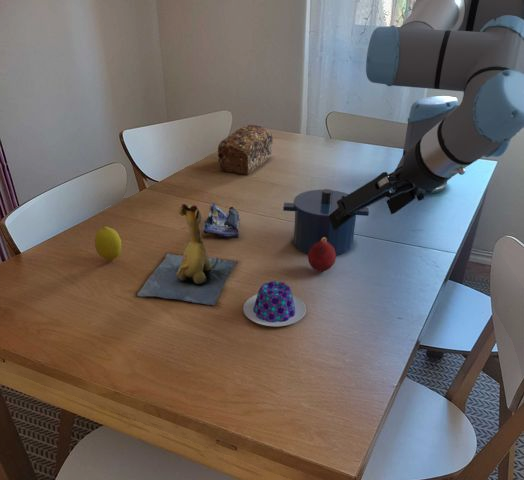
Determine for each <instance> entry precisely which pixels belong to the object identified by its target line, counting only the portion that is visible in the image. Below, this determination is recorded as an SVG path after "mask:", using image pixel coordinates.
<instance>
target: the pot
mask: <svg viewBox="0 0 524 480" xmlns="http://www.w3.org/2000/svg"><path fill="white" fill-rule="evenodd" d="M282 208H283V209H282V210H283V211H284V212H294V227H293V228H294V229H293V230H294V231H293V233H294V234H293V244H294V246H295V248H297V249H298V250H299V251H300V252H303V253H305V254H307V255H308V254H309V251H310V249H311V247H312V246H313V245H314V244H315V243H317V242H319V241H320V240H321V239H322V238H323V237H325V238H327V242H328V243H330V244H331V245H332V246H333V248H334V249H335V253H336V256H340V255H343V254H345V253H348V252H349V251H350V250H351V249H352V248H353V245H354V236H355V234H354V233H355V226H356V219H357V218H356V217H357V216H366V217H368V216H369V213H370V210H369V208H370V207H369V206H368V207H366V208H363V209H361V210H359V211H357V212H355V213H356V215H355V216H353V217H352V218H351V219H349V220H348V221H347V222H346V223H344V224H343V225H342V226H340V227H339V228H338V229H336V230H334V229H333V227H332V224H331V222H330V219H329V218H327V217H317V216H312V215H308V214H305V213H303V212H301V211H299V210H298V209H297V208H296V207H295V206H294V202H284V203H283V207H282Z"/></svg>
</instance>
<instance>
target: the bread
mask: <svg viewBox="0 0 524 480" xmlns="http://www.w3.org/2000/svg"><path fill="white" fill-rule="evenodd" d="M273 139H274V138H273V135H272V133H271V132H270V131H268V129H266V128H265V127H262V126H260V125H258V124H246V125H244V126H242V127H240V128H239V129H237V130H236V131H234V132H233V133H231V134H230V135H228V136H226V137H225V138H224V139H223V140H221V141H220V143H219V144H218V147H217V157H218V163H219V169H220V170H221V171H225V172H227V173H231V172H234V173H236V174H239V175H247V176H248V175H250V174H251V173H252V172H254V171H255V170H257V169H258V168H259V167H261V166H262V165H263V164H264V163H266V162H267V161H268V160H269V159H270V158H271V156H272V152H273V145H274V144H273V143H274V141H273Z"/></svg>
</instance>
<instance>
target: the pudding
mask: <svg viewBox="0 0 524 480" xmlns="http://www.w3.org/2000/svg"><path fill="white" fill-rule="evenodd" d="M242 309H243V310H242V311H243V313H244V315H245V316H246V318H248V319H249V320H250V321H252V322H254V323H256V324H258V325H261V326H267V327H284V326H289V325H294V324H295V323H297V322H299V321H301V320H302V319H303V318H304V317H305V315H306V313H307V307H306V304H305V303H304V302H303V300H302V299H300V298H299V297H297V296H296V295H293V293H292V288H291V287H290V286H289V285H288V284H286V283H285V282H282V281H276V280H271V281H269V282H265V283H263V284H262V285H261V286H260V288H259V289H258V292H257V294H254V295H253V296H251V297H250V298H248V299H247V300H246V301H245V302H244V303H243V307H242Z"/></svg>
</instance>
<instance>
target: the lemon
mask: <svg viewBox="0 0 524 480" xmlns="http://www.w3.org/2000/svg"><path fill="white" fill-rule="evenodd" d="M94 248H95V250H96V253H97V254H98V255H99V256H100V258H102V259H104V260H108V261H109V262H113V260H115V259H116V258H118V257H119V256H120V254H121V252H122V249H123V248H122V240H121V237H120V235H119V233H118V232H117V231H116V230H115V229H114V228H111V227H108V226H103V227H102V228H100V229H98V231H97V232H96V233H95V235H94Z"/></svg>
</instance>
